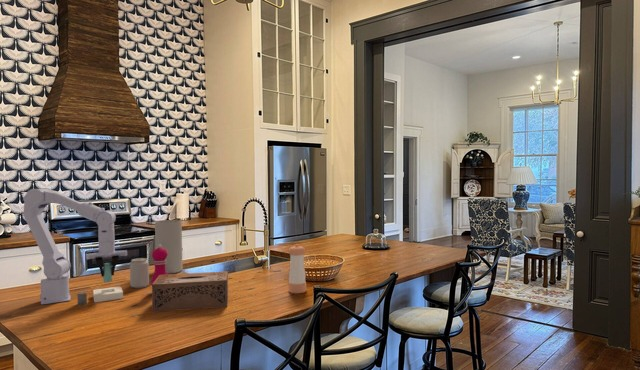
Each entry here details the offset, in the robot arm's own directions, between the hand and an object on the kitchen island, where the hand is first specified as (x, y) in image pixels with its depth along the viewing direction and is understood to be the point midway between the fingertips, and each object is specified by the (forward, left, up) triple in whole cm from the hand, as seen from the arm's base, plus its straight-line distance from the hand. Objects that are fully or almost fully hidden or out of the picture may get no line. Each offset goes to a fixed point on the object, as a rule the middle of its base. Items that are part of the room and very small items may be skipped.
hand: (107, 275), depth 169 cm
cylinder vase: (+29, +34, -9) cm, 46 cm away
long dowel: (0, 0, -2) cm, 2 cm away
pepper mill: (+19, -5, -9) cm, 22 cm away
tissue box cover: (+27, -26, -9) cm, 39 cm away
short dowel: (-9, -5, -9) cm, 13 cm away
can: (+13, +11, -9) cm, 19 cm away
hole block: (0, 0, -9) cm, 9 cm away
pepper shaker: (+68, -32, -9) cm, 76 cm away
